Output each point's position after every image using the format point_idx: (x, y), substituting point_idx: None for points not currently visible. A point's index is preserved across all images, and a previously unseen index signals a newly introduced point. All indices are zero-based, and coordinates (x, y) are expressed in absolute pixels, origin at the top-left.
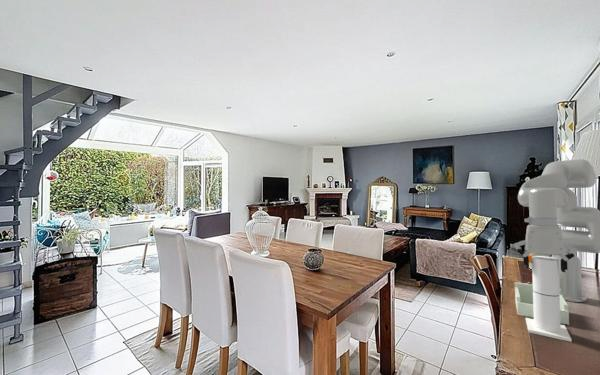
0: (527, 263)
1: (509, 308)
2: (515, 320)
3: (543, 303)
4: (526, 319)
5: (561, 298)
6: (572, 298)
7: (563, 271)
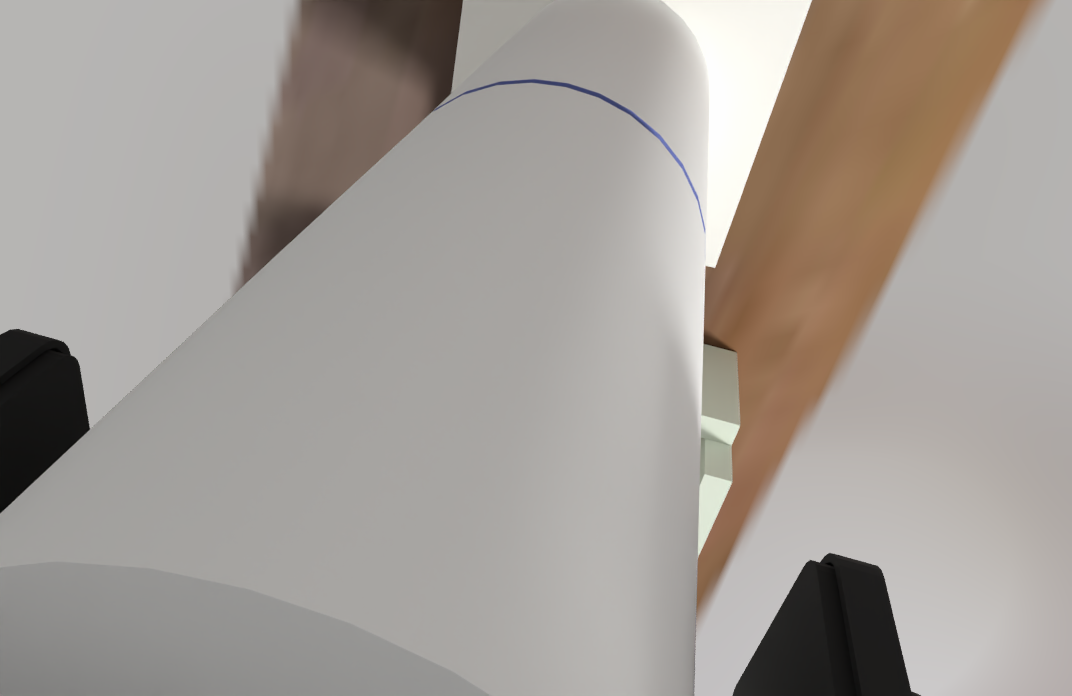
0: (883, 680)
1: (749, 463)
2: (819, 220)
3: (637, 72)
4: (726, 223)
5: None
6: None
7: (42, 346)
